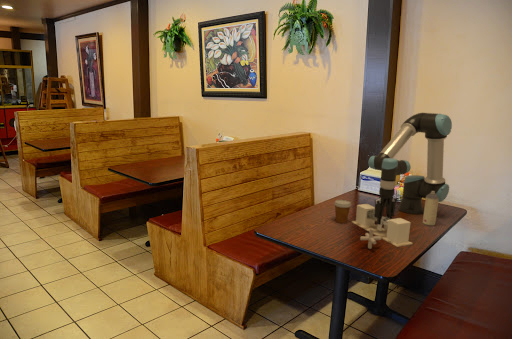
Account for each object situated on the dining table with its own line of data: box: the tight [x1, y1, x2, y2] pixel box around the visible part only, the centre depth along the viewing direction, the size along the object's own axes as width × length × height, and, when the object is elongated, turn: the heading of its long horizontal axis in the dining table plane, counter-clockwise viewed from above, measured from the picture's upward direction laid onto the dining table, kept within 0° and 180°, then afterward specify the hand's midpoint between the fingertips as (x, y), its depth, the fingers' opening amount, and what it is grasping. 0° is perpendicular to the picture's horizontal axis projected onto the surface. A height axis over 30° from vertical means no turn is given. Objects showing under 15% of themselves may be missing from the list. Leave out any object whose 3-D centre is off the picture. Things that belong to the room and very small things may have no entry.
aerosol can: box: [422, 191, 439, 227], centre depth 218 cm, size 7×7×20 cm
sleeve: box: [355, 203, 376, 227], centre depth 215 cm, size 8×7×11 cm
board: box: [350, 220, 413, 248], centre depth 205 cm, size 37×10×1 cm, turn 23°
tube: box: [367, 211, 391, 227], centre depth 201 cm, size 24×4×4 cm, turn 23°
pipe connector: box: [359, 228, 382, 250], centre depth 184 cm, size 10×10×10 cm
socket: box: [386, 217, 412, 244], centre depth 192 cm, size 7×8×11 cm
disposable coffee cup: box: [334, 199, 352, 224], centre depth 219 cm, size 10×10×12 cm
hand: (382, 229), depth 203 cm, fingers closed on tube, 4 cm apart
